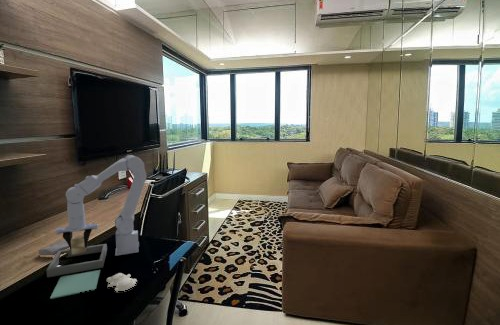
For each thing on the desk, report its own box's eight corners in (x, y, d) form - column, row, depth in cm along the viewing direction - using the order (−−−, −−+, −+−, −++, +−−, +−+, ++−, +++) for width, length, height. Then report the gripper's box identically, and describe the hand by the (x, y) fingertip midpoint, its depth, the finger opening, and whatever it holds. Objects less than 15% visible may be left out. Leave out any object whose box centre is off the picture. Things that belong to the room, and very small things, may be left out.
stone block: (36, 261, 112) (55, 259, 110) (34, 250, 112) (52, 248, 110) (61, 249, 124) (78, 247, 121) (59, 240, 123) (76, 238, 121)
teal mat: (100, 270, 102) (100, 269, 102) (95, 289, 90) (95, 288, 90) (60, 277, 97) (60, 276, 97) (50, 299, 85) (50, 297, 85)
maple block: (86, 247, 110) (85, 234, 109) (84, 252, 106) (83, 238, 105) (74, 249, 108) (73, 236, 108) (71, 254, 104) (70, 240, 104)
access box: (107, 249, 119) (106, 243, 119) (103, 267, 104) (102, 260, 104) (58, 257, 112) (58, 250, 111) (47, 277, 97) (46, 270, 96)
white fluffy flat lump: (126, 273, 101) (125, 265, 101) (141, 285, 93) (140, 277, 93) (102, 283, 94) (101, 275, 94) (115, 297, 87) (115, 289, 86)
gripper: (52, 222, 99) (55, 255, 101) (95, 217, 105) (97, 248, 106) (57, 216, 105) (60, 247, 107) (97, 211, 111) (100, 241, 113)
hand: (79, 247), depth 107 cm, fingers closed on maple block, 4 cm apart
